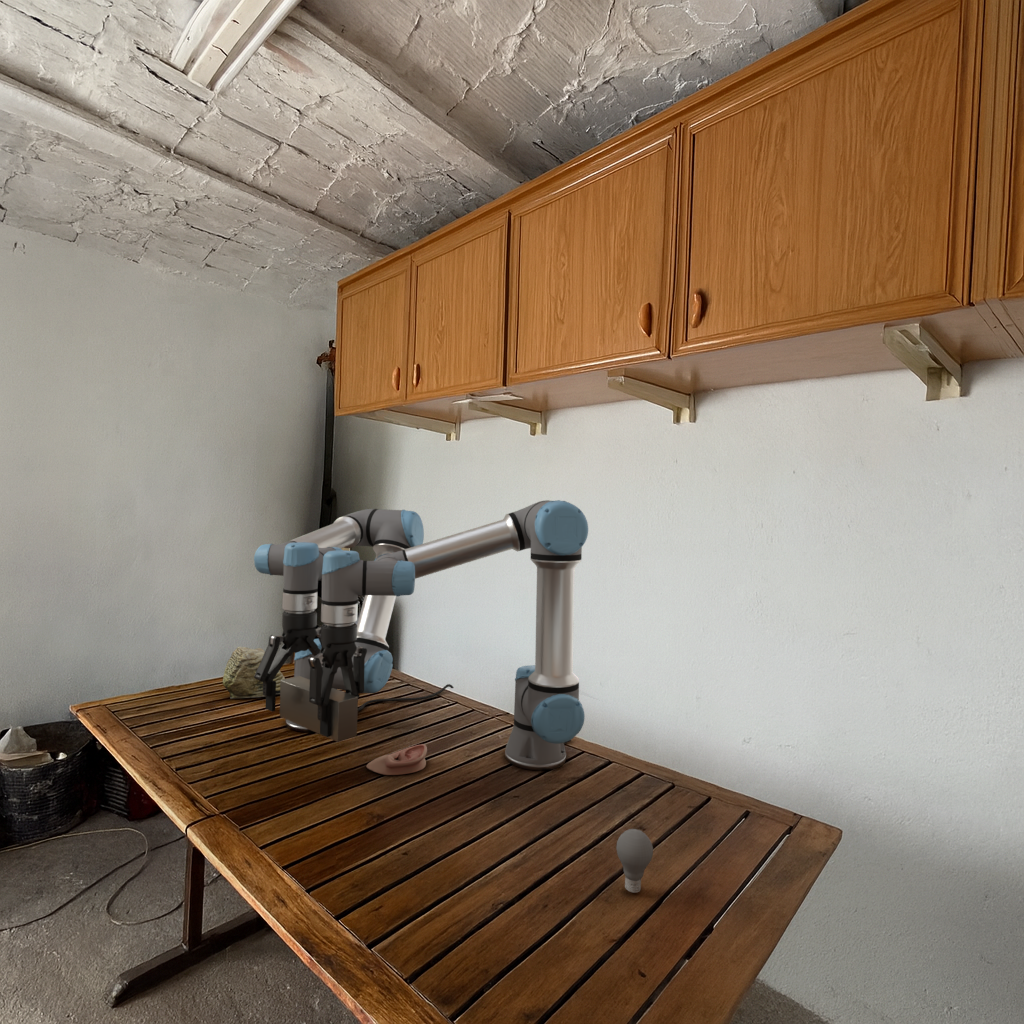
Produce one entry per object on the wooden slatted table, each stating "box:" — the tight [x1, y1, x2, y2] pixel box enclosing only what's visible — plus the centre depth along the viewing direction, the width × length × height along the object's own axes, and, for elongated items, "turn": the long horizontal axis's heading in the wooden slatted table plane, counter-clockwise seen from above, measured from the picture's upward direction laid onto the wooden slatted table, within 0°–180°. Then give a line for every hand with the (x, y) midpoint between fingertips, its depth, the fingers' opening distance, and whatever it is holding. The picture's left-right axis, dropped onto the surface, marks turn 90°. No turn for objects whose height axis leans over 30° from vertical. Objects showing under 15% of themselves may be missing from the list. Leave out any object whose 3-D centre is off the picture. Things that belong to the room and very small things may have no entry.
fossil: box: [222, 646, 286, 699], centre depth 198 cm, size 9×18×15 cm, turn 132°
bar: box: [279, 676, 359, 743], centre depth 140 cm, size 22×5×8 cm, turn 51°
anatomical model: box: [366, 743, 428, 776], centre depth 150 cm, size 13×4×12 cm
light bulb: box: [615, 828, 654, 894], centre depth 106 cm, size 6×6×10 cm
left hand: (297, 702), depth 145 cm, fingers open, 13 cm apart
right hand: (336, 731), depth 136 cm, fingers closed on bar, 5 cm apart
